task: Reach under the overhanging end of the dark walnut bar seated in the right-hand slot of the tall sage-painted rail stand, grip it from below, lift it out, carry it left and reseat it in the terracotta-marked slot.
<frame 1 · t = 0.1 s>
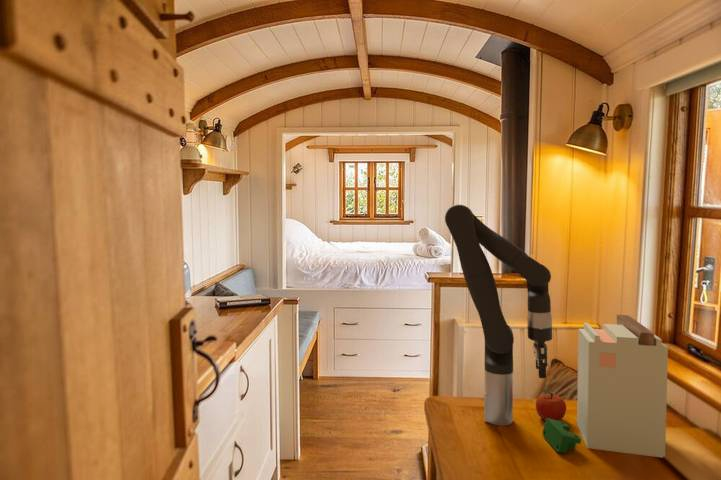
hand: (540, 373, 144), 17 cm above the table, tool pointing down, fingers open, 8 cm apart
rail stand: (617, 439, 134), on the table
walnut bar: (633, 334, 135), point 32 cm above the table, touching rail stand
fruit: (550, 420, 148), on the table
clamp: (561, 445, 131), on the table
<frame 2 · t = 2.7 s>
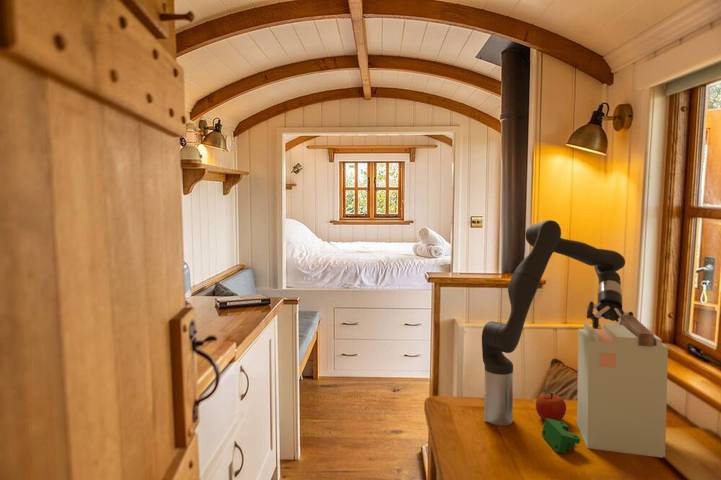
hand: (610, 332, 145), 30 cm above the table, tool tilted 50°, fingers open, 8 cm apart
walnut bar: (635, 335, 134), point 32 cm above the table, touching rail stand
everything else where it was.
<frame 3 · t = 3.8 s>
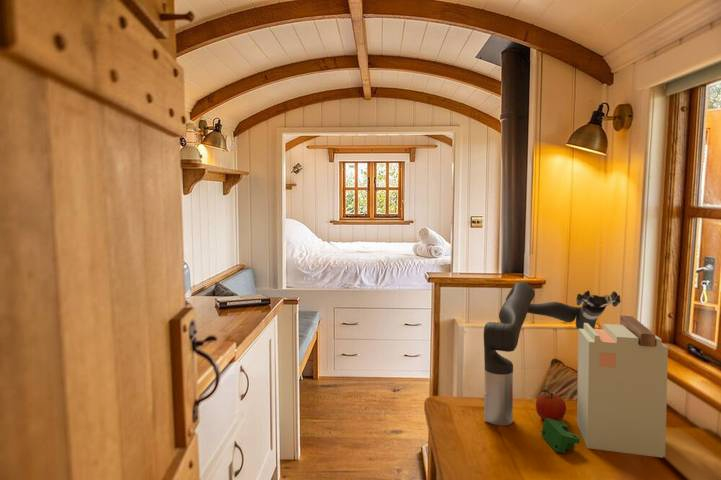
hand: (601, 293, 159), 41 cm above the table, tool pointing upward, fingers open, 8 cm apart
nothing on the table moved.
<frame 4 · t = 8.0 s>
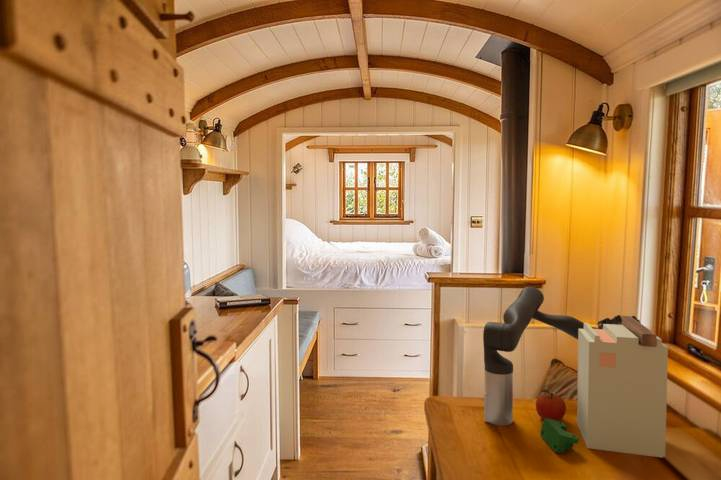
hand: (626, 318, 143), 35 cm above the table, tool pointing upward, fingers closed on walnut bar, 3 cm apart
walnut bar: (635, 335, 134), point 32 cm above the table, touching gripper, rail stand
everything else where it was.
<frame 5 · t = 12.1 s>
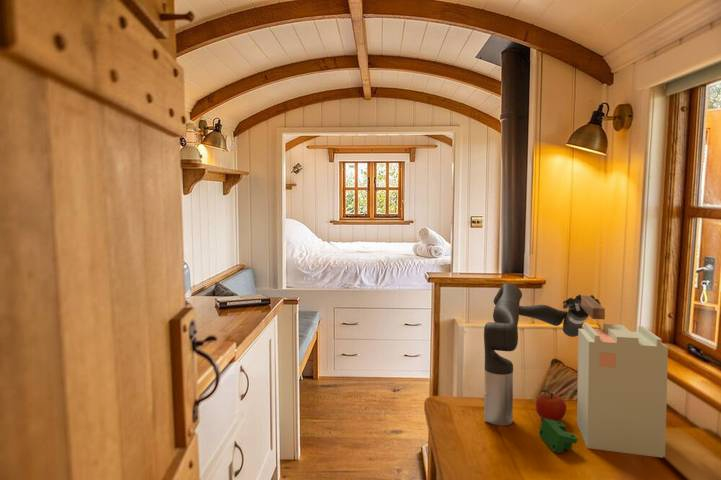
hand: (586, 297, 159), 39 cm above the table, tool pointing upward, fingers closed on walnut bar, 3 cm apart
walnut bar: (590, 311, 151), point 36 cm above the table, touching gripper
everything else where it was.
when the fingers open (36 cm above the table, at t = 15.7 s): walnut bar stays where it is, resting on rail stand.
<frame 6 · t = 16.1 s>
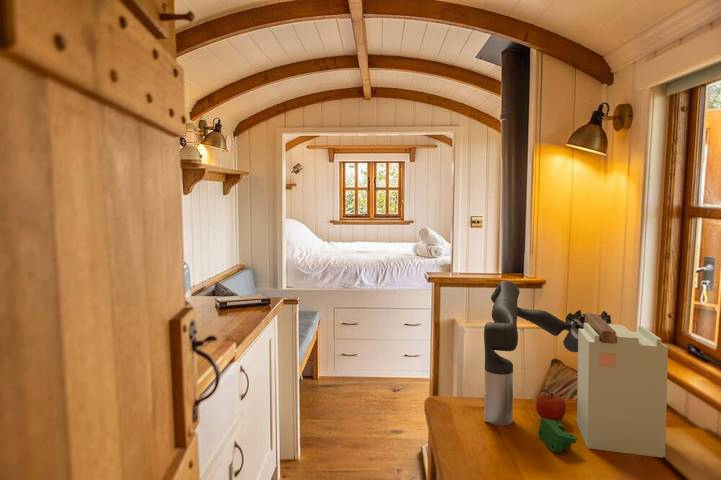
hand: (592, 313, 146), 36 cm above the table, tool pointing upward, fingers open, 7 cm apart
walnut bar: (598, 332, 137), point 32 cm above the table, touching rail stand
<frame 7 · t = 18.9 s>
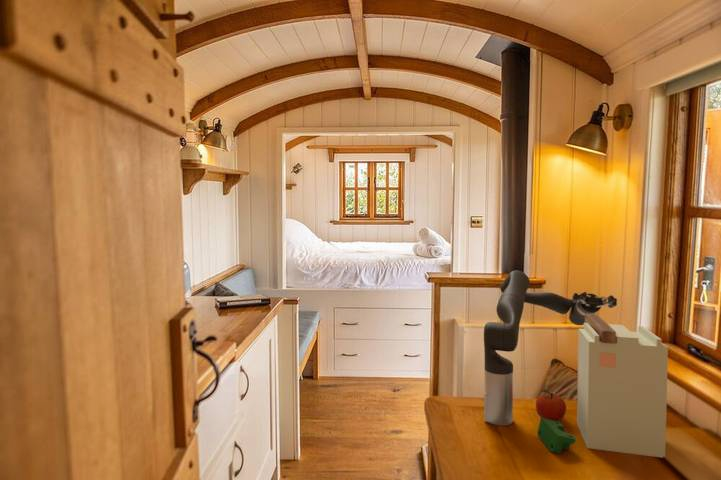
hand: (598, 296, 156), 40 cm above the table, tool pointing upward, fingers open, 8 cm apart
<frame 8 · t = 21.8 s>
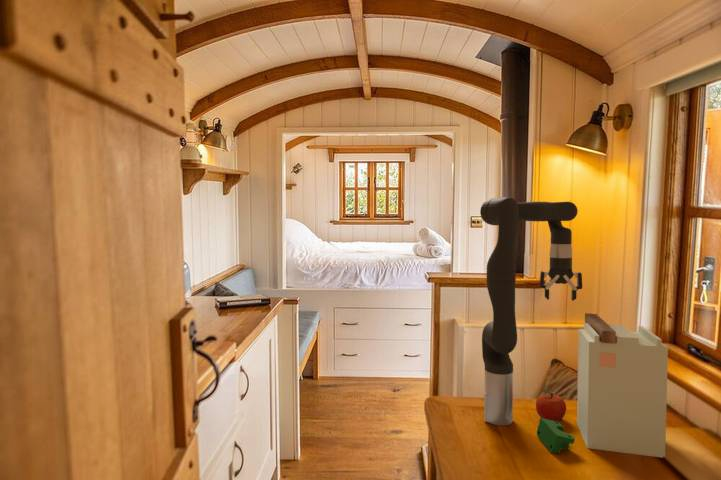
hand: (560, 299, 161), 38 cm above the table, tool pointing down, fingers open, 8 cm apart
at the end: walnut bar inside the target area (1.6 cm from its centre), point 32.2 cm above the table; the gripper is holding nothing; walnut bar tilted 0° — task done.
